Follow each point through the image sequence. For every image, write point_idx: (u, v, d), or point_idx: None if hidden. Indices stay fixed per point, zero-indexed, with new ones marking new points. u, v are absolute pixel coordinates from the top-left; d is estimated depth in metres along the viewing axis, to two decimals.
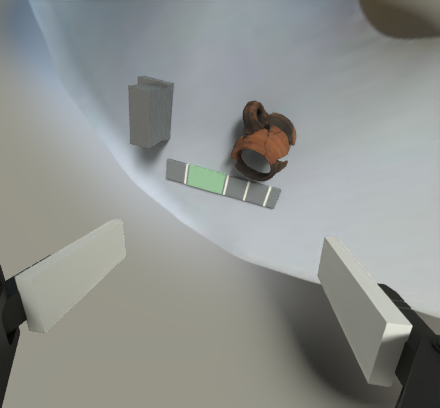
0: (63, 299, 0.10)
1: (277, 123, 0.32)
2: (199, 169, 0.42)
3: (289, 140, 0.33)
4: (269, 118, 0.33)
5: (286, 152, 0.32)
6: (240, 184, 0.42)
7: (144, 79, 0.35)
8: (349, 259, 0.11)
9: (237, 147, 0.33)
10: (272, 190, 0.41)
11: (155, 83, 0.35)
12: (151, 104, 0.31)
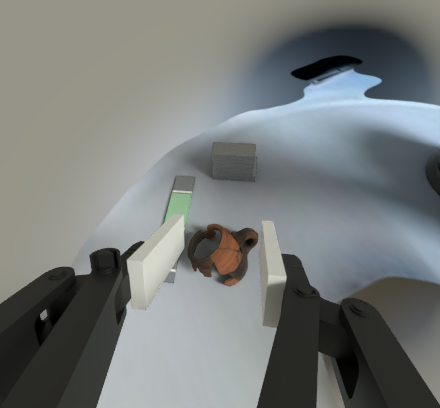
0: (155, 282, 0.12)
1: (243, 261, 0.36)
2: (188, 202, 0.45)
3: (231, 273, 0.35)
4: (245, 253, 0.37)
5: (221, 271, 0.34)
6: None
7: (255, 160, 0.47)
8: (270, 236, 0.13)
9: (220, 226, 0.37)
10: (172, 273, 0.39)
11: (254, 167, 0.47)
12: (245, 158, 0.41)
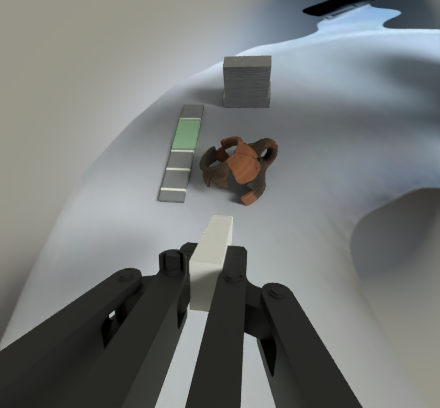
0: None
1: (261, 173, 0.33)
2: (197, 127, 0.42)
3: (249, 183, 0.31)
4: (263, 167, 0.33)
5: (238, 179, 0.30)
6: (185, 162, 0.38)
7: (269, 85, 0.44)
8: (224, 229, 0.14)
9: (235, 137, 0.33)
10: (182, 193, 0.35)
11: (268, 91, 0.43)
12: (260, 70, 0.37)
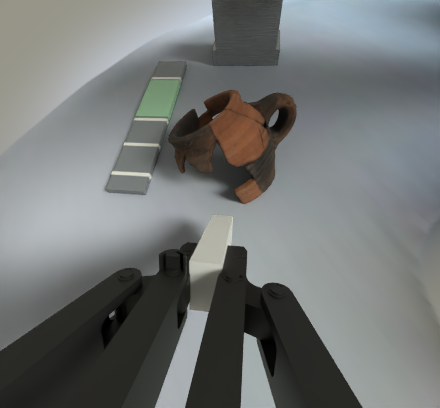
0: None
1: (270, 150, 0.20)
2: (175, 89, 0.29)
3: (249, 165, 0.18)
4: (273, 142, 0.21)
5: (231, 156, 0.17)
6: (153, 136, 0.25)
7: (278, 33, 0.31)
8: (224, 229, 0.14)
9: (227, 91, 0.20)
10: (144, 179, 0.23)
11: (277, 40, 0.30)
12: None
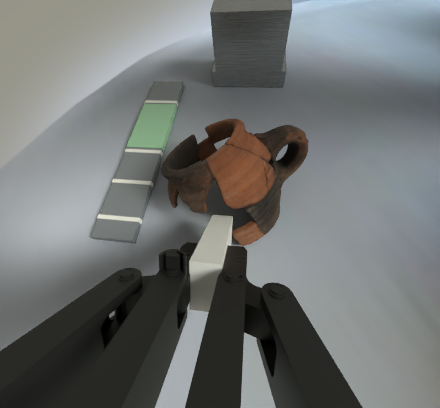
0: None
1: (275, 189, 0.17)
2: (170, 115, 0.27)
3: (250, 208, 0.16)
4: (279, 179, 0.18)
5: (229, 198, 0.15)
6: (145, 171, 0.23)
7: None
8: (224, 229, 0.14)
9: (231, 119, 0.18)
10: (133, 225, 0.20)
11: (282, 61, 0.28)
12: (272, 18, 0.22)
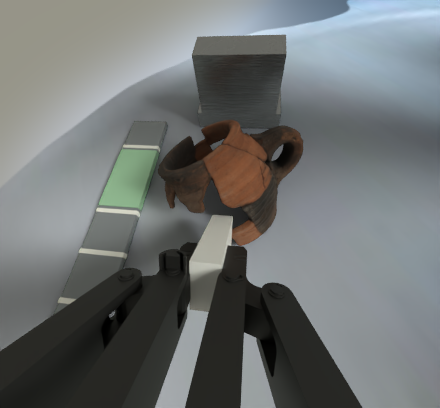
0: None
1: (272, 189, 0.17)
2: (150, 165, 0.23)
3: (247, 207, 0.16)
4: (275, 179, 0.18)
5: (226, 197, 0.15)
6: (118, 238, 0.20)
7: None
8: (224, 229, 0.14)
9: (227, 120, 0.18)
10: None
11: None
12: (263, 62, 0.19)
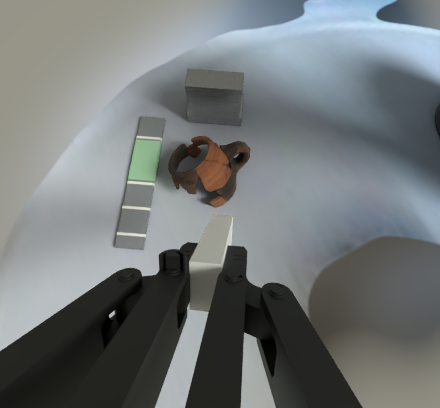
0: None
1: (231, 178, 0.32)
2: (157, 151, 0.36)
3: (218, 190, 0.31)
4: (234, 171, 0.33)
5: (207, 187, 0.30)
6: (144, 199, 0.34)
7: (242, 98, 0.38)
8: (224, 229, 0.14)
9: (206, 137, 0.31)
10: (141, 239, 0.32)
11: (240, 107, 0.37)
12: (229, 93, 0.31)
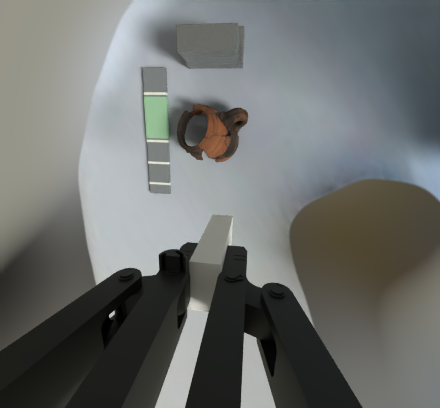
0: None
1: (232, 142, 0.37)
2: (165, 109, 0.40)
3: (220, 156, 0.37)
4: (235, 134, 0.37)
5: (210, 156, 0.36)
6: (163, 155, 0.42)
7: (242, 34, 0.34)
8: (224, 229, 0.14)
9: (206, 109, 0.34)
10: (167, 186, 0.44)
11: (240, 48, 0.34)
12: (223, 52, 0.30)
